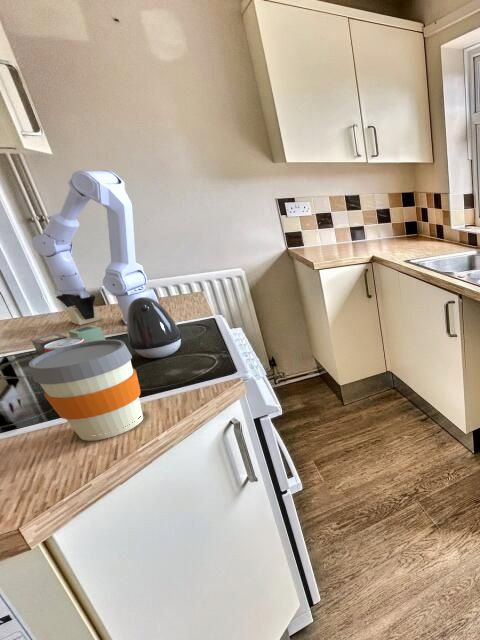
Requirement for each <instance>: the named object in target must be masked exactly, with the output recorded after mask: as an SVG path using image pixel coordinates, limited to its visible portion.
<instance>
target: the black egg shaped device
mask: <svg viewBox="0 0 480 640" xmlns="http://www.w3.org/2000/svg"><path fill="white" fill-rule="evenodd" d="M126 330H127V337H128V342H129V345H130V348H131V349H133V350H134V351H135V352H136V353H137V354H138V355H140V357H144V358H146V359H159V358H164V357H168V356H170V355H173V354H174V353H176V352H177V351H178V350H179V348H180V347H181V344H182V333H181V331H180V329H179V328H178V326H177V324H176V321H174V319H173V318H172V316H171V315H170V314H169V312H168V311H167V310H166V309H165V308H164V307H163V305H161V304H160V303H159V301H158V302H156V301H155V300H153V299H151V298H147V297H141V298H137V299H135V300H133V301H132V302H131V304H130V306H129V308H128V313H127V325H126Z"/></svg>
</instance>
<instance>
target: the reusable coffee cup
mask: <svg viewBox="0 0 480 640" xmlns="http://www.w3.org/2000/svg"><path fill="white" fill-rule="evenodd" d="M132 359H133V356H132V353H131V352H130V350H129V348H128V347H127V345H126V343H125V342H124V340H120V339H106V340H96V341H89V342H83V343H78V344H74V345H69V346H66V347H62V348H59V349H55V350H52V351H49V352H47V353H44V354H42V355H40V356H39V355H38V356H35V357H33V358H32V359H31V360H30V361H29V362H28V368H29V371H30V373H31V376H32V379H33V382H35V383H36V384H39V385H40V387H41V388H42V389H43V391H44V393H43V395H44V396H43V397H44V398H45V399H46V400H47V401H48V403H49V404H50V406H51V407H52V408H53V409H54V411H55V412H56V413H57V415H58V417H60V418H61V419H64V420H66V421H67V422H68V424H69V426H70V427H71V428H72V429H73V430H74V433H76V434H77V436H78V437H79V438H80V439H81V440H83V441H87V442H88V441H91V442H92V441H100V440H105V439H109V438H112V437H115V436H119V435H121V434H124V433H126V432H128V431H130V430H132V429H134V428H135V427H137V426H138V425H140V424H141V422H142V421H143V419H144V414H143V410H142V405H141V401H140V396H141V387H140V383H139V379H138V378H139V377H138V374H137V370H136V369H135V368H134V367H133V364H132V361H131V360H132ZM140 416H141V417H140ZM139 417H140V418H139ZM138 418H139V419H138ZM134 421H135V422H134ZM132 422H133V423H132ZM129 424H130V425H129ZM127 425H128V426H127ZM125 426H126V427H125ZM122 427H124V428H122ZM117 429H119V430H117ZM115 430H116V431H115ZM112 431H113V432H112ZM109 432H110V433H109ZM105 433H106V434H105ZM99 434H102V435H99ZM80 435H82V436H80ZM92 435H96V436H92Z"/></svg>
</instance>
